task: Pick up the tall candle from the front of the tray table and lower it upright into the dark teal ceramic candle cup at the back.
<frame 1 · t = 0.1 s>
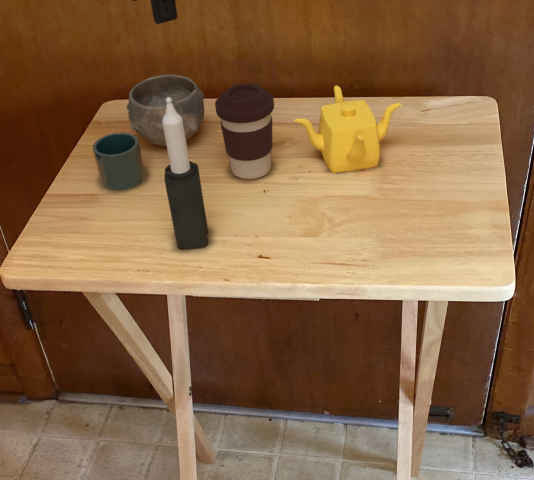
hand: (153, 9, 112), 35 cm above the table, tool pointing down, fingers open, 9 cm apart
teapot: (348, 156, 147), on the table
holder: (123, 178, 147), on the table
coffee cup: (251, 170, 146), on the table
bowl: (171, 137, 157), on the table
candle: (193, 240, 132), on the table
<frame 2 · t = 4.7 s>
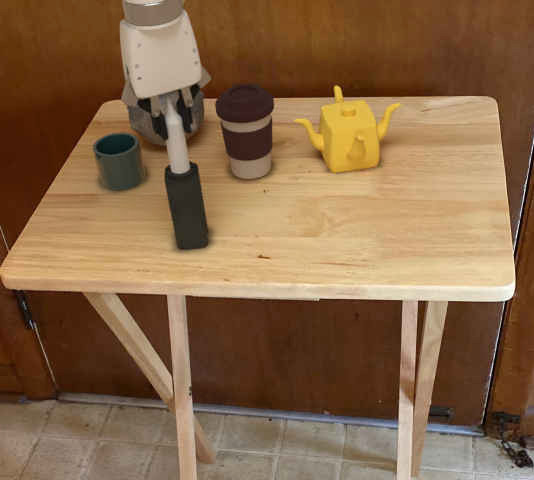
hand: (174, 131, 119), 20 cm above the table, tool pointing down, fingers closed on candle, 3 cm apart
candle: (193, 240, 132), on the table, touching gripper
everything else where it was.
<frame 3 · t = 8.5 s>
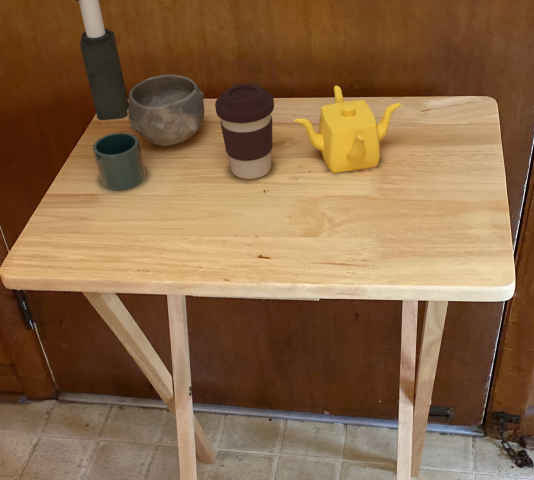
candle: (113, 113, 136), point 14 cm above the table, touching gripper
everything else where it was.
when the fingers open (21 cm above the table, at t = 12.6 s): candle stays where it is, resting on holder.
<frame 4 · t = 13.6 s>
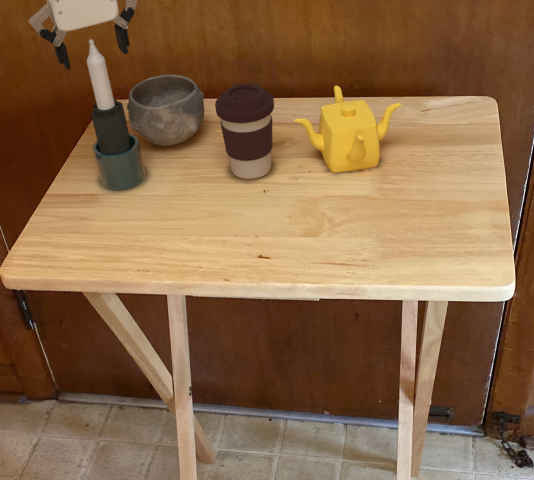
hand: (95, 58, 132), 23 cm above the table, tool pointing down, fingers open, 9 cm apart
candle: (122, 174, 147), point 1 cm above the table, touching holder
everything else where it was.
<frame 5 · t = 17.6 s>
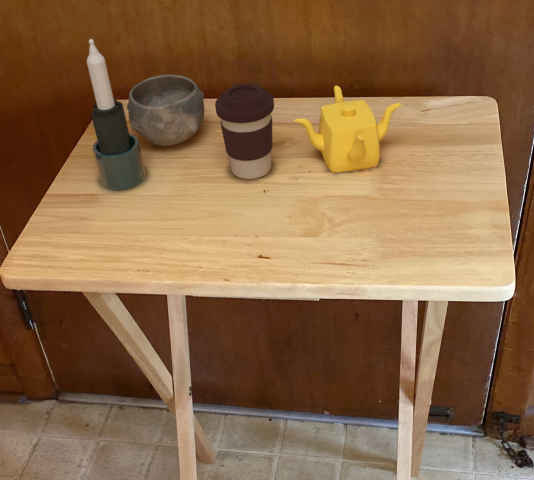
nothing on the table moved.
at the end: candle 0.1 cm off-centre in the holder, point 0.8 cm above the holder's base; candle tilted 0°; the gripper is holding nothing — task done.
